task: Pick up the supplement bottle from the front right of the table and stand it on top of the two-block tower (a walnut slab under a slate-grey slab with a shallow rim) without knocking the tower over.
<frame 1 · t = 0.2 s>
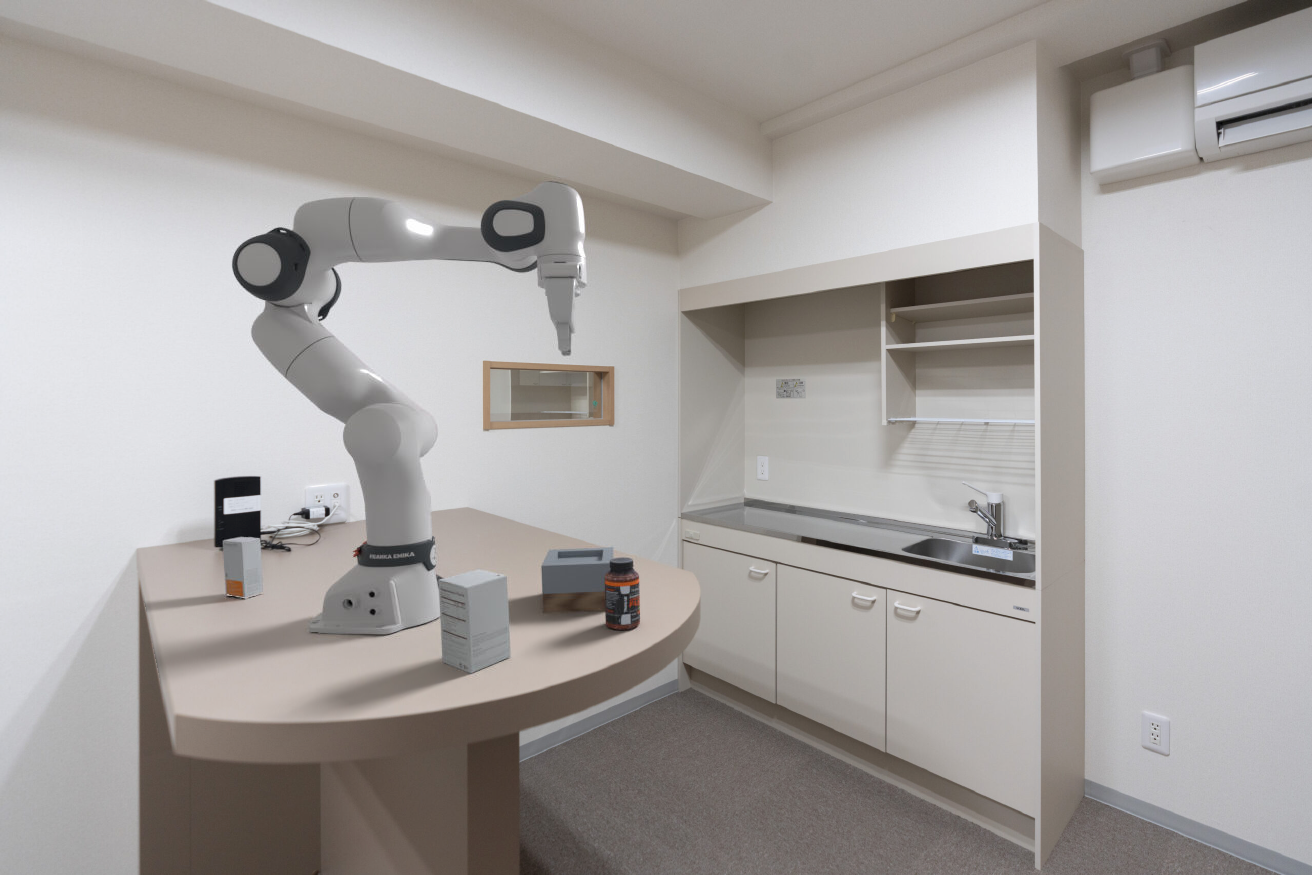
hand: (565, 353, 113), 47 cm above the table, fingers open, 8 cm apart
supplement box: (476, 661, 93), on the table
walnut bottom slab: (581, 602, 121), on the table
supplement bottle: (623, 626, 107), on the table
skincare box: (245, 596, 131), on the table
slate grey top slab: (580, 582, 121), point 4 cm above the table
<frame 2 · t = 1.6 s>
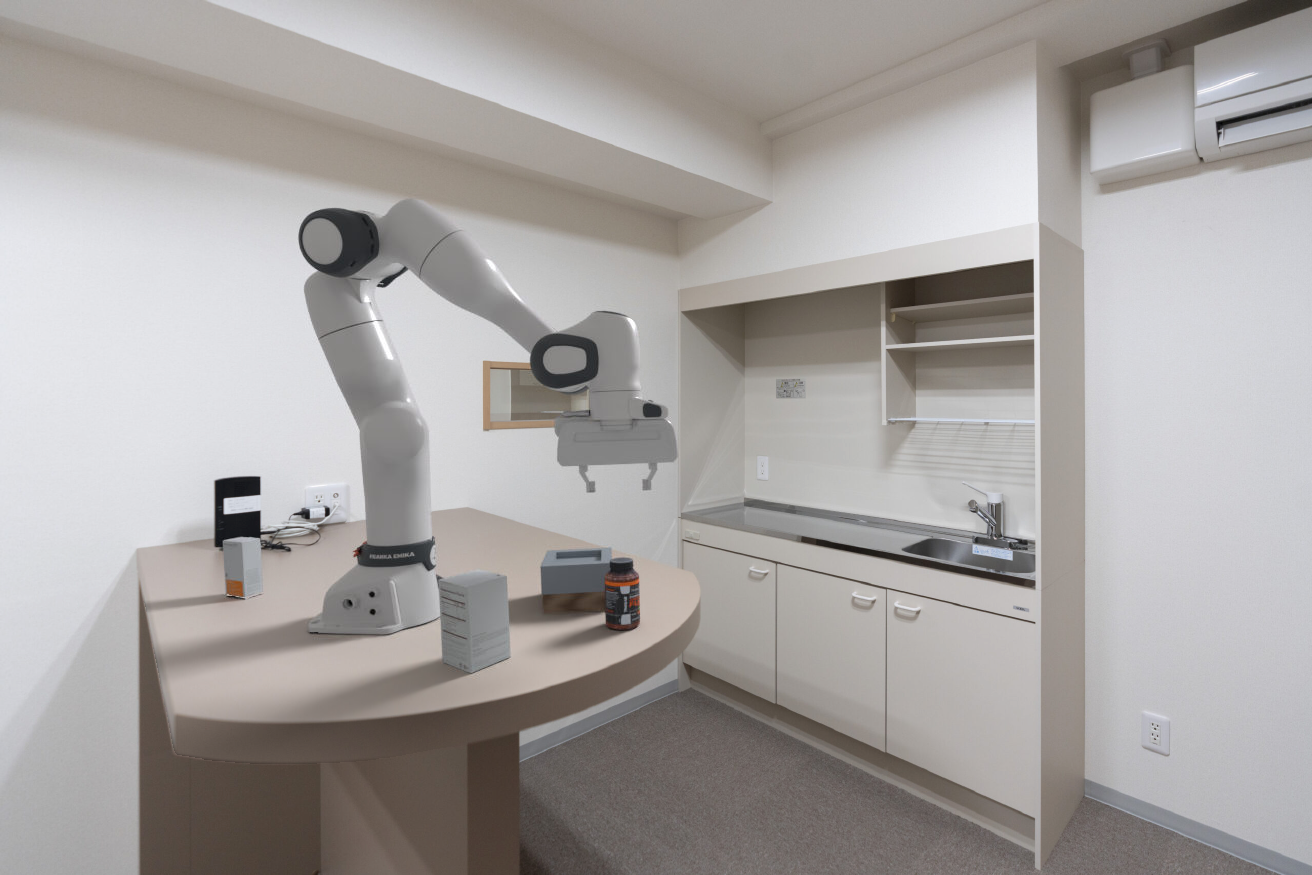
hand: (619, 491, 105), 23 cm above the table, fingers open, 8 cm apart
walnut bottom slab: (581, 603, 121), on the table, touching slate grey top slab
slate grey top slab: (579, 582, 121), point 3 cm above the table, touching walnut bottom slab
everything else where it was.
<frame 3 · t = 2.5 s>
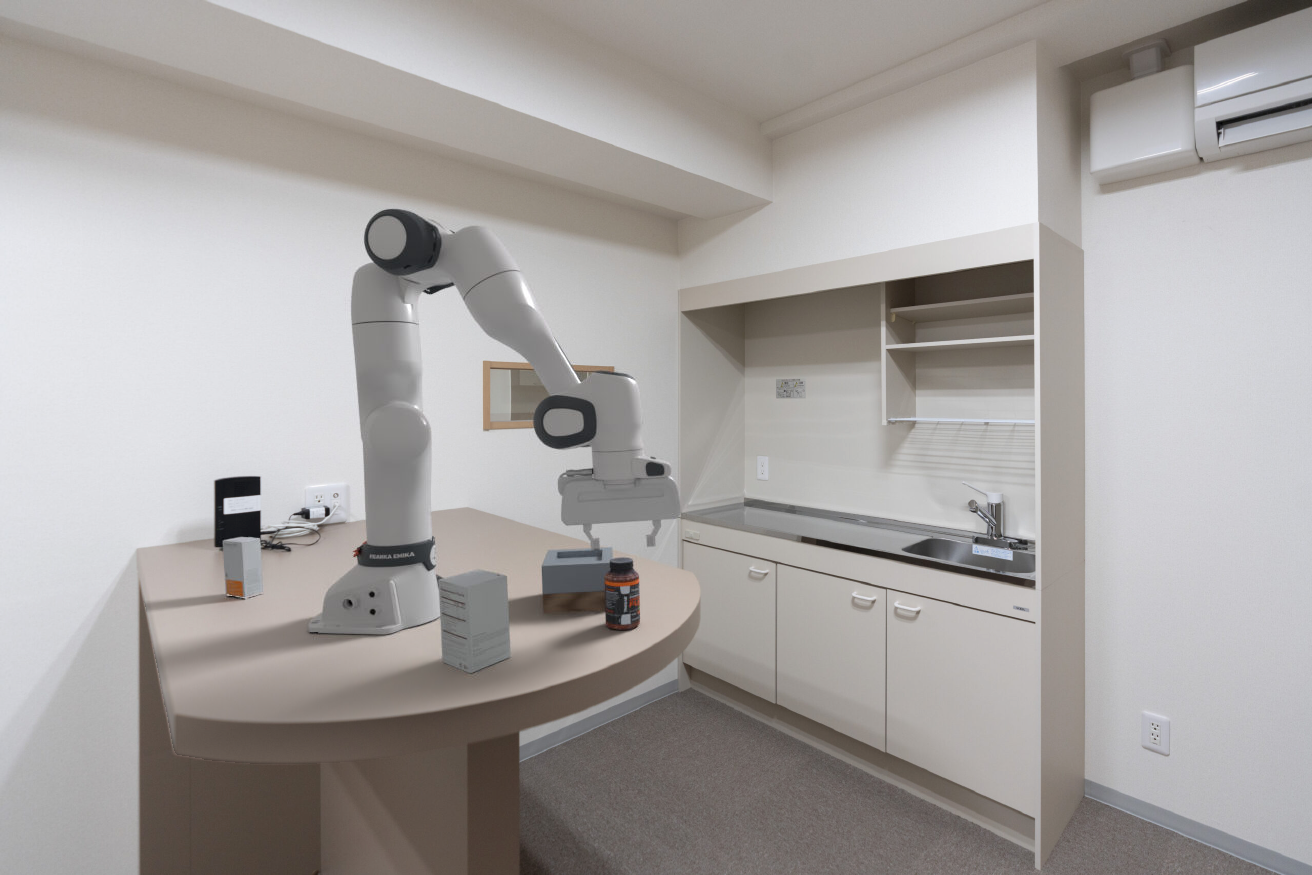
hand: (623, 547, 106), 13 cm above the table, fingers open, 8 cm apart
nothing on the table moved.
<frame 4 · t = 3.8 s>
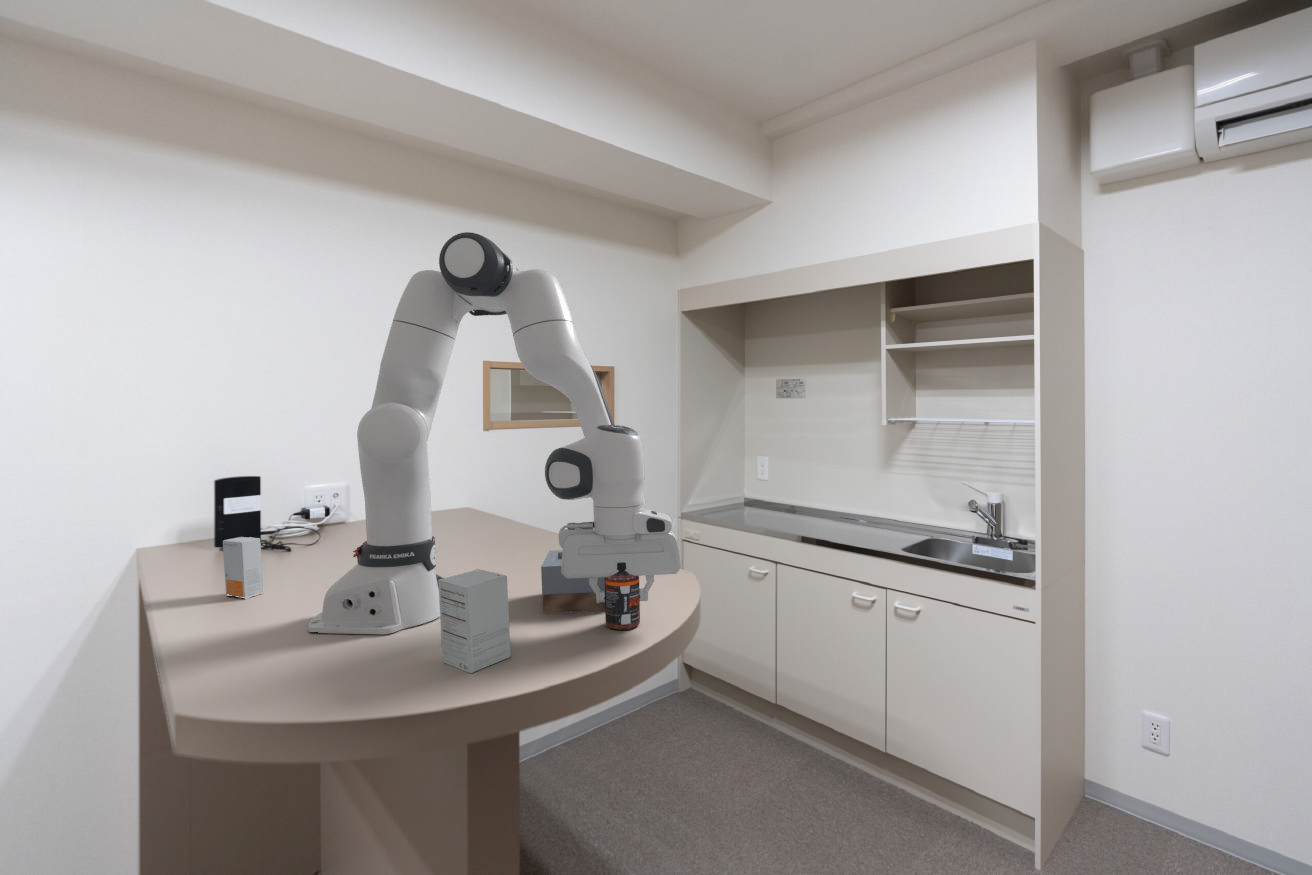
hand: (622, 601, 106), 4 cm above the table, fingers closed on supplement bottle, 6 cm apart
supplement bottle: (623, 626, 107), on the table, touching gripper
everything else where it was.
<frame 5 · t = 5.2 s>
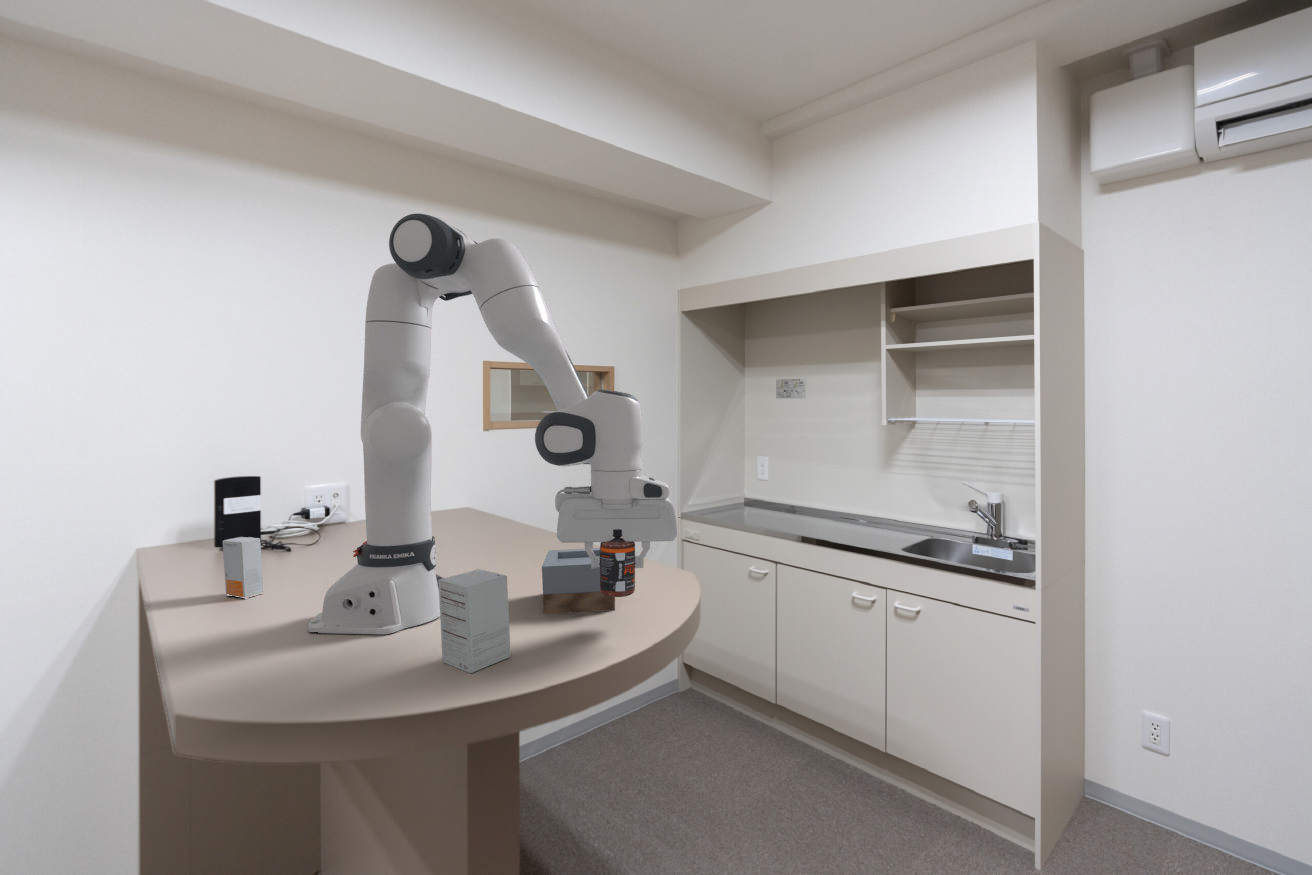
hand: (617, 567, 106), 10 cm above the table, fingers closed on supplement bottle, 6 cm apart
supplement bottle: (617, 594, 106), point 5 cm above the table, touching gripper
everything else where it was.
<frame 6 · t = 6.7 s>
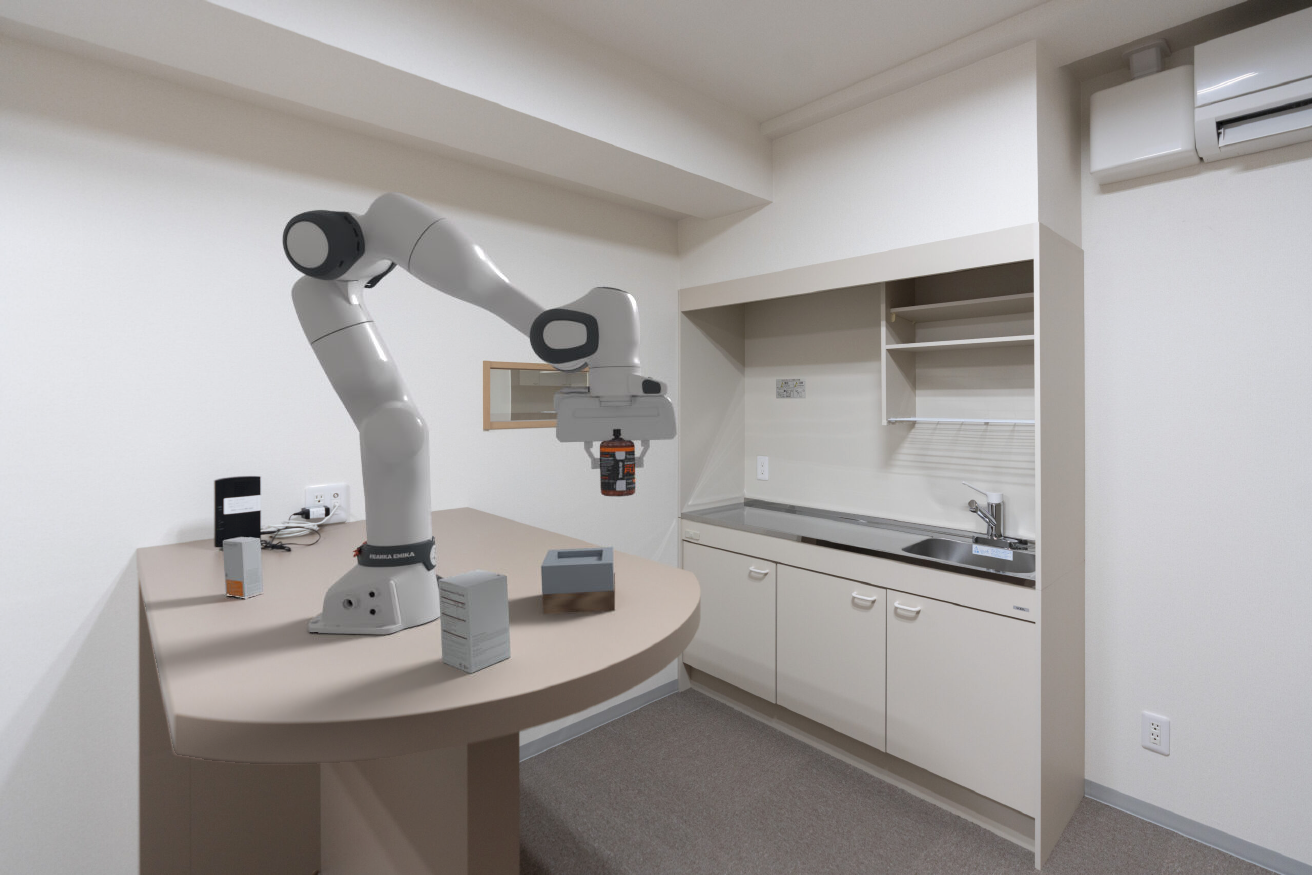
hand: (617, 468, 105), 27 cm above the table, fingers closed on supplement bottle, 6 cm apart
supplement bottle: (618, 496, 106), point 22 cm above the table, touching gripper
everything else where it was.
when the fingers open (12 cm above the table, at t = 10.8 s): supplement bottle stays where it is, resting on slate grey top slab.
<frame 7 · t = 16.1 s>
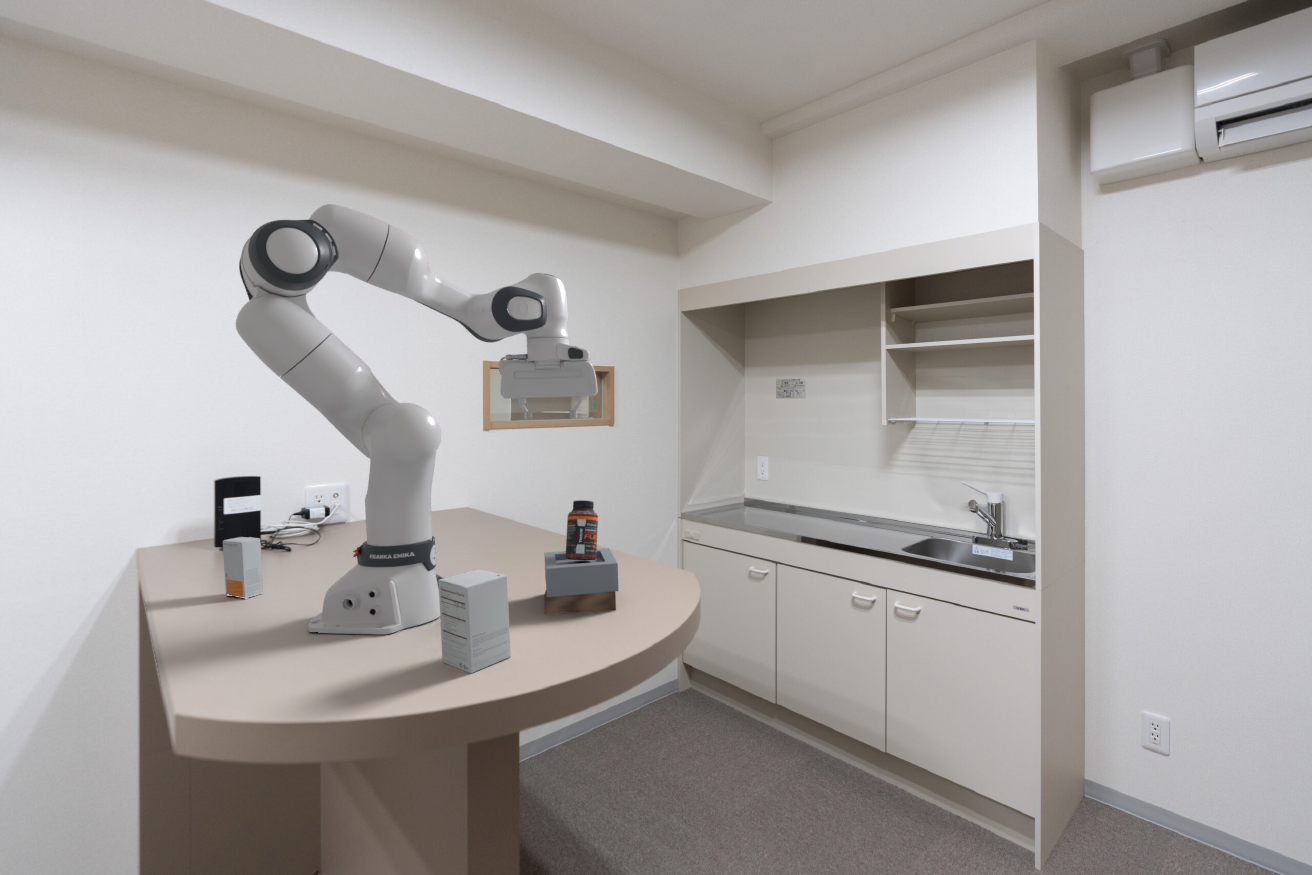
hand: (550, 419, 132), 35 cm above the table, fingers open, 8 cm apart
walnut bottom slab: (582, 604, 121), on the table
supplement bottle: (580, 561, 120), point 8 cm above the table, touching slate grey top slab
slate grey top slab: (580, 584, 120), point 3 cm above the table, touching supplement bottle
everything else where it was.
at the end: supplement bottle 0.4 cm off-centre on the walnut bottom slab, point 8.0 cm above the walnut bottom slab's base; supplement bottle tilted 4°; slate grey top slab moved 0.8 cm from its start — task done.
